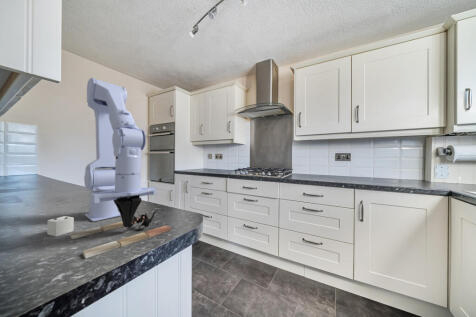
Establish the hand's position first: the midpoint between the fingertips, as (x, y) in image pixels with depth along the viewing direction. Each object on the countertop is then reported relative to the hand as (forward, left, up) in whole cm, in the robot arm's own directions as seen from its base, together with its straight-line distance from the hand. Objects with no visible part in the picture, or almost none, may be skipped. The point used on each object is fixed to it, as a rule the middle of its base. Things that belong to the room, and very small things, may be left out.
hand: (127, 225), depth 46 cm
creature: (-1, +3, -2) cm, 4 cm away
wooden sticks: (0, -1, -2) cm, 2 cm away
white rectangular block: (-12, -11, -2) cm, 16 cm away
